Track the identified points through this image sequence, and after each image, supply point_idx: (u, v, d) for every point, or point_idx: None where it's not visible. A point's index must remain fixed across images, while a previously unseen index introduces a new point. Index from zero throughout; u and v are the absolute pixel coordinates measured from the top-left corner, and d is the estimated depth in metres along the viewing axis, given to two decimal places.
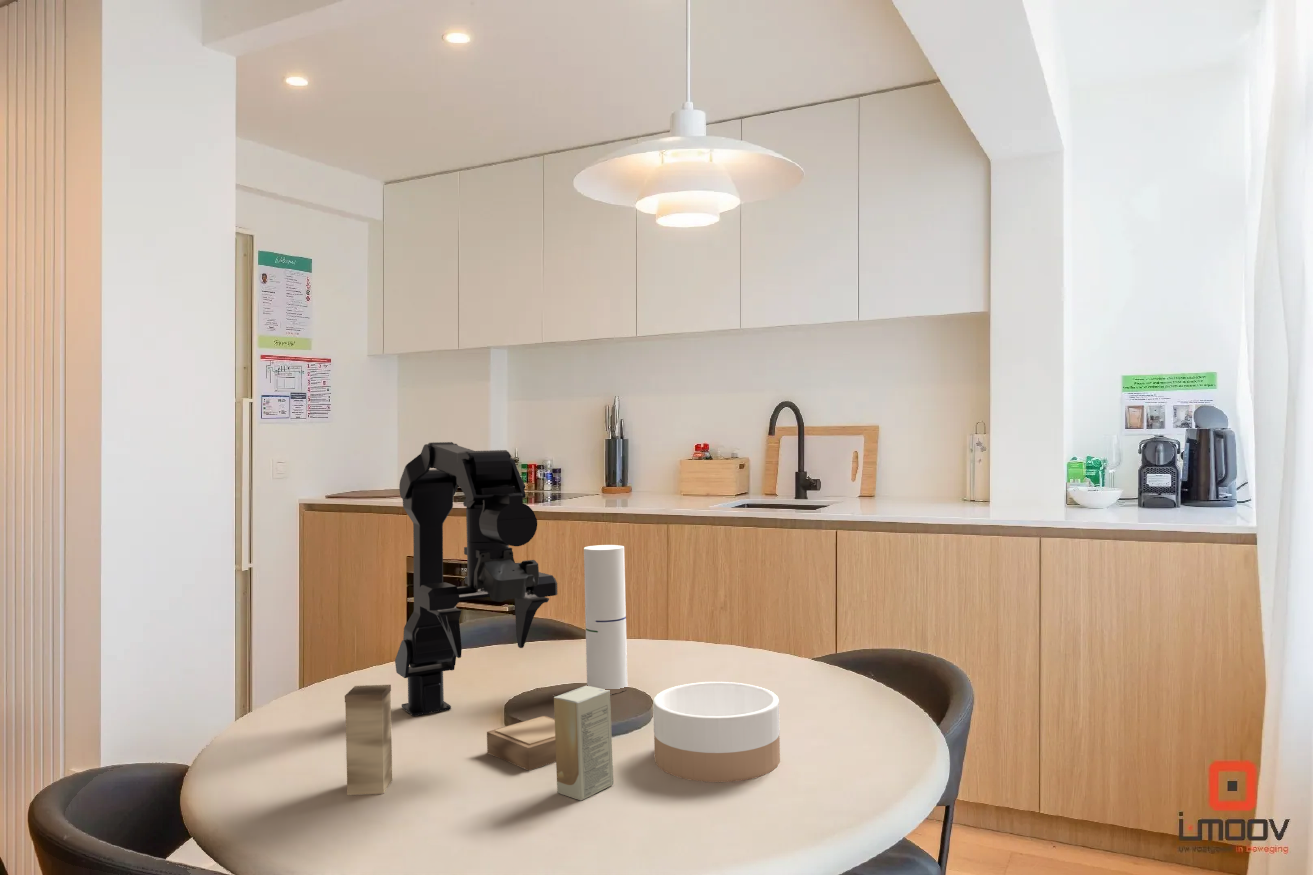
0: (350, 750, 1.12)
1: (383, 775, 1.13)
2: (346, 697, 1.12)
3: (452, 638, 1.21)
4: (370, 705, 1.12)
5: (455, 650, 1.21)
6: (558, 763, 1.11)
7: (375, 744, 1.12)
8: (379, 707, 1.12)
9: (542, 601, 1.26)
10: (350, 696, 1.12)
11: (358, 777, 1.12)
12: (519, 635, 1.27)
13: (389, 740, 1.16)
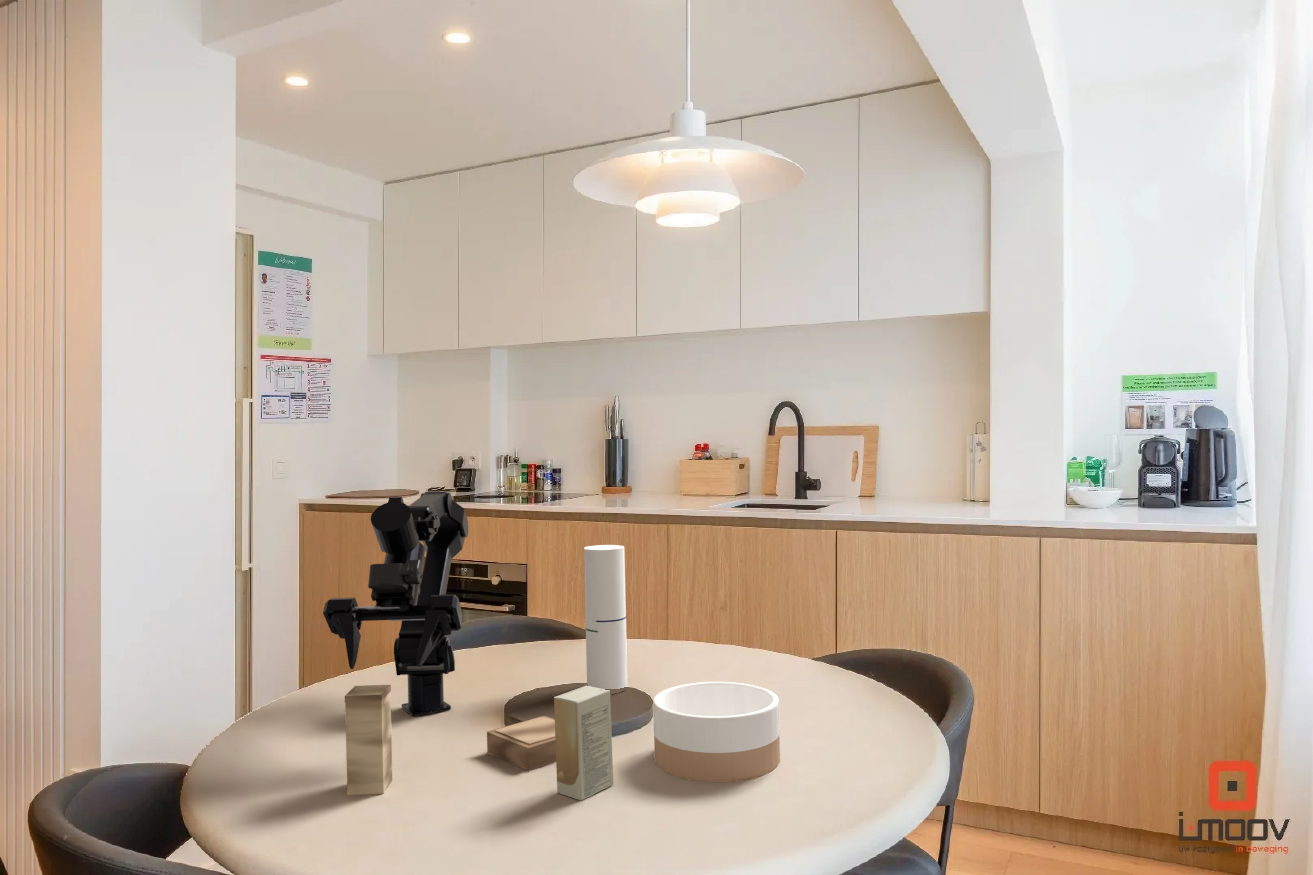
0: (350, 750, 1.12)
1: (383, 775, 1.13)
2: (346, 697, 1.12)
3: None
4: (370, 705, 1.12)
5: None
6: (558, 763, 1.11)
7: (375, 744, 1.12)
8: (379, 707, 1.12)
9: (437, 611, 1.26)
10: (350, 696, 1.12)
11: (358, 777, 1.12)
12: None
13: (389, 740, 1.16)
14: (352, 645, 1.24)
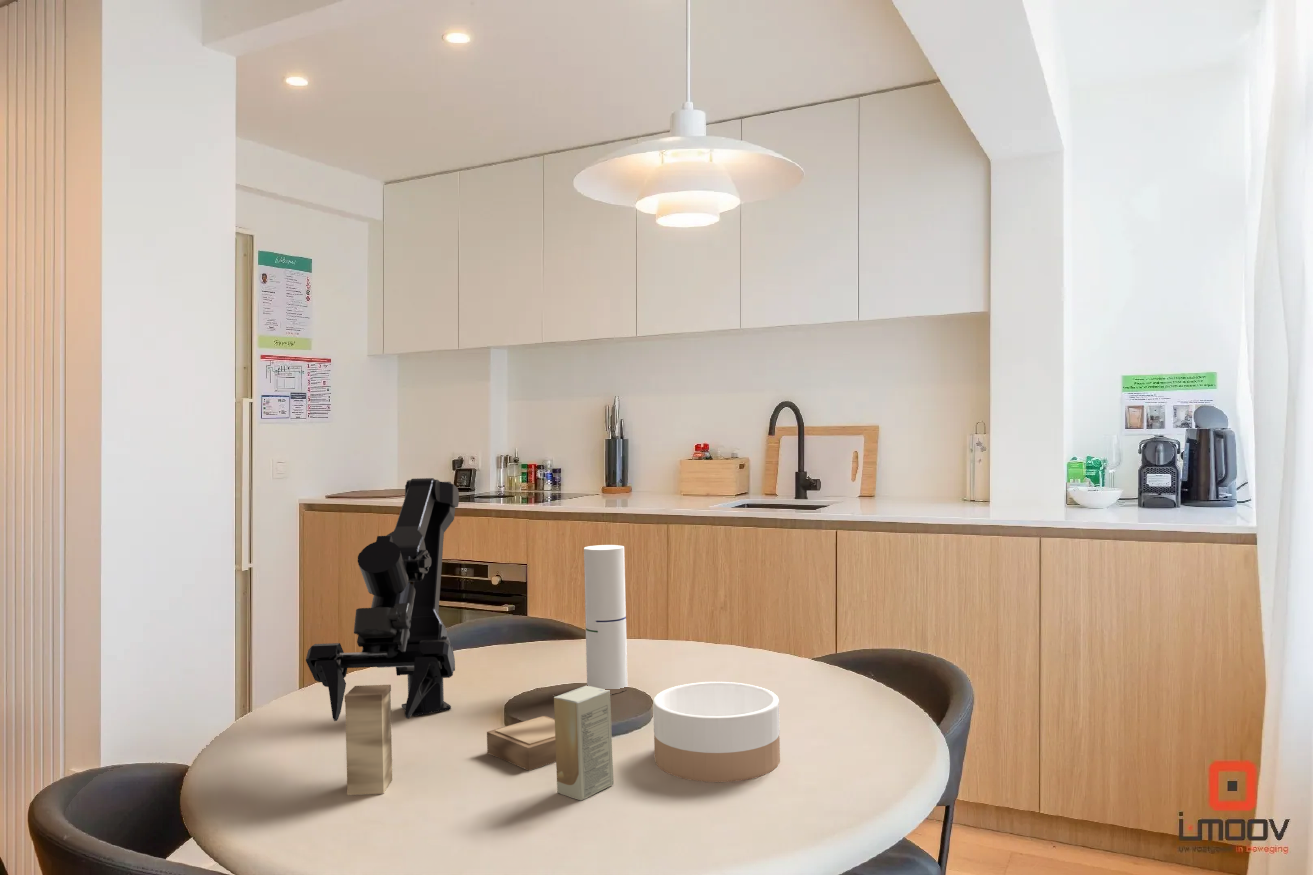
0: (350, 750, 1.12)
1: (383, 775, 1.13)
2: (346, 697, 1.12)
3: (330, 697, 1.17)
4: (370, 705, 1.12)
5: None
6: (558, 763, 1.11)
7: (375, 744, 1.12)
8: (379, 707, 1.12)
9: (427, 659, 1.19)
10: (350, 696, 1.12)
11: (358, 777, 1.12)
12: None
13: (389, 740, 1.16)
14: (336, 695, 1.17)
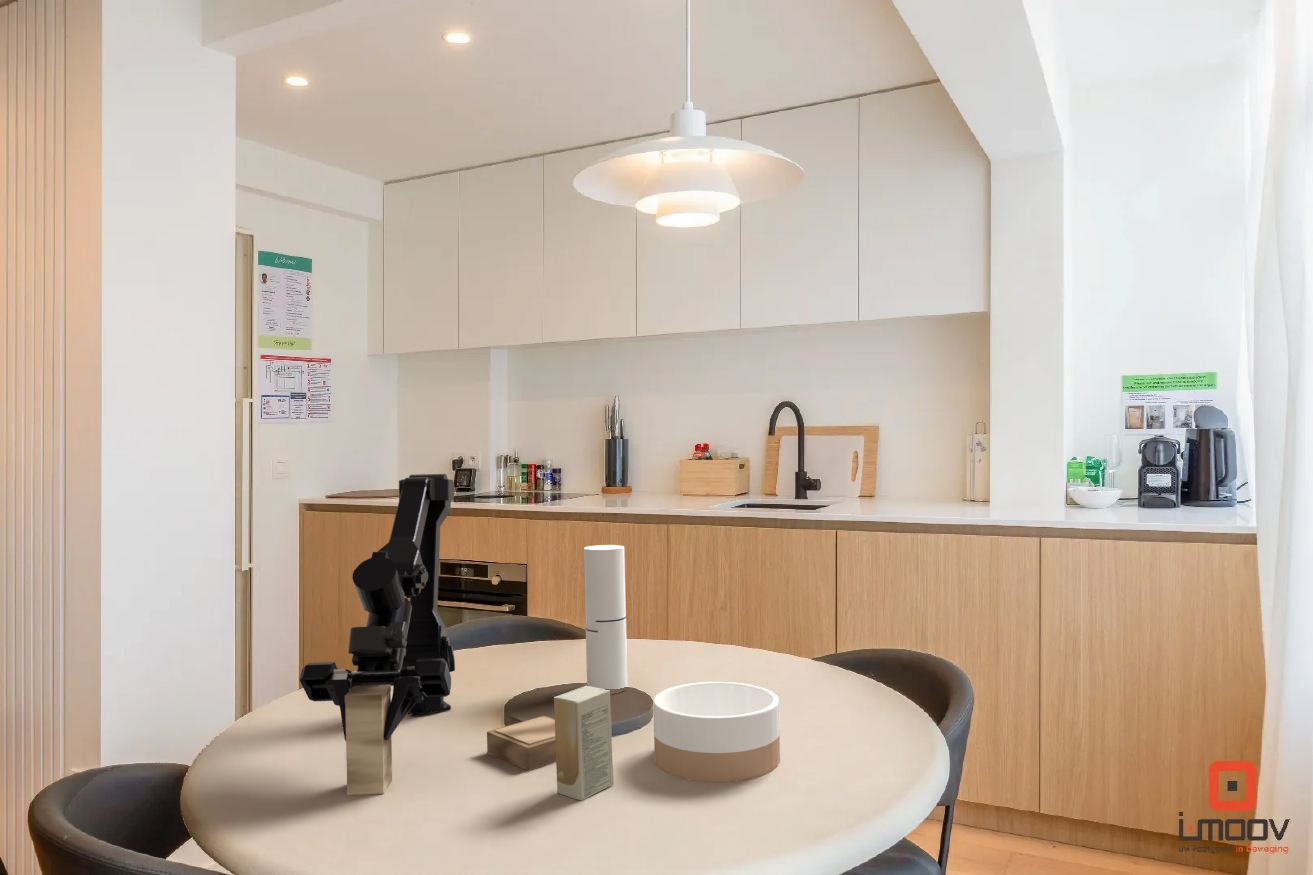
0: (350, 750, 1.12)
1: (383, 775, 1.13)
2: (346, 697, 1.12)
3: (341, 717, 1.14)
4: (370, 705, 1.12)
5: (344, 732, 1.14)
6: (558, 763, 1.11)
7: (375, 744, 1.12)
8: (379, 707, 1.12)
9: (406, 679, 1.16)
10: (350, 696, 1.12)
11: (358, 777, 1.12)
12: None
13: (389, 740, 1.16)
14: None
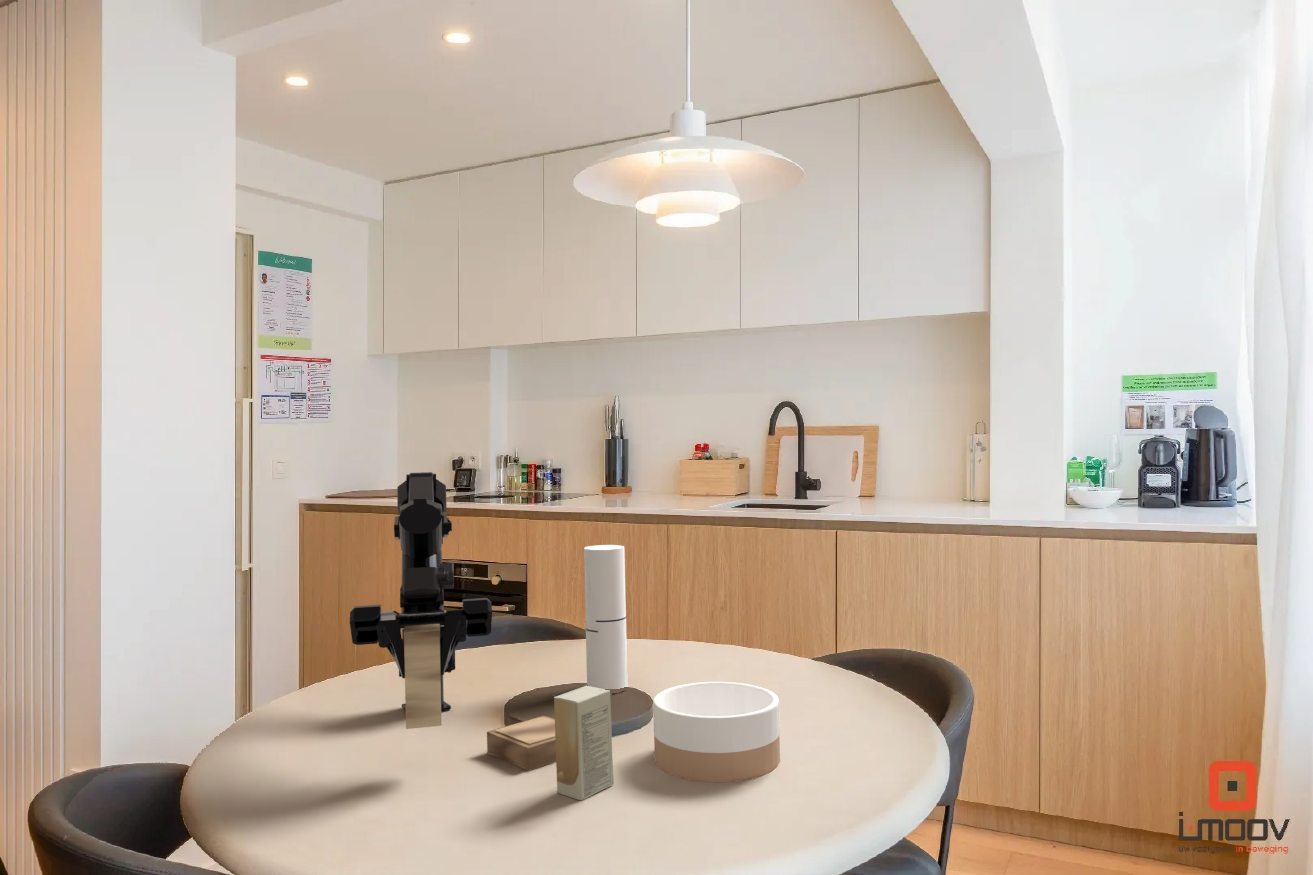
0: (409, 686, 1.16)
1: (440, 708, 1.17)
2: (405, 634, 1.16)
3: (396, 656, 1.18)
4: (428, 641, 1.17)
5: (400, 669, 1.18)
6: (558, 763, 1.11)
7: (433, 678, 1.17)
8: (437, 642, 1.17)
9: (457, 617, 1.21)
10: (409, 633, 1.16)
11: (416, 711, 1.16)
12: None
13: None
14: (402, 653, 1.18)
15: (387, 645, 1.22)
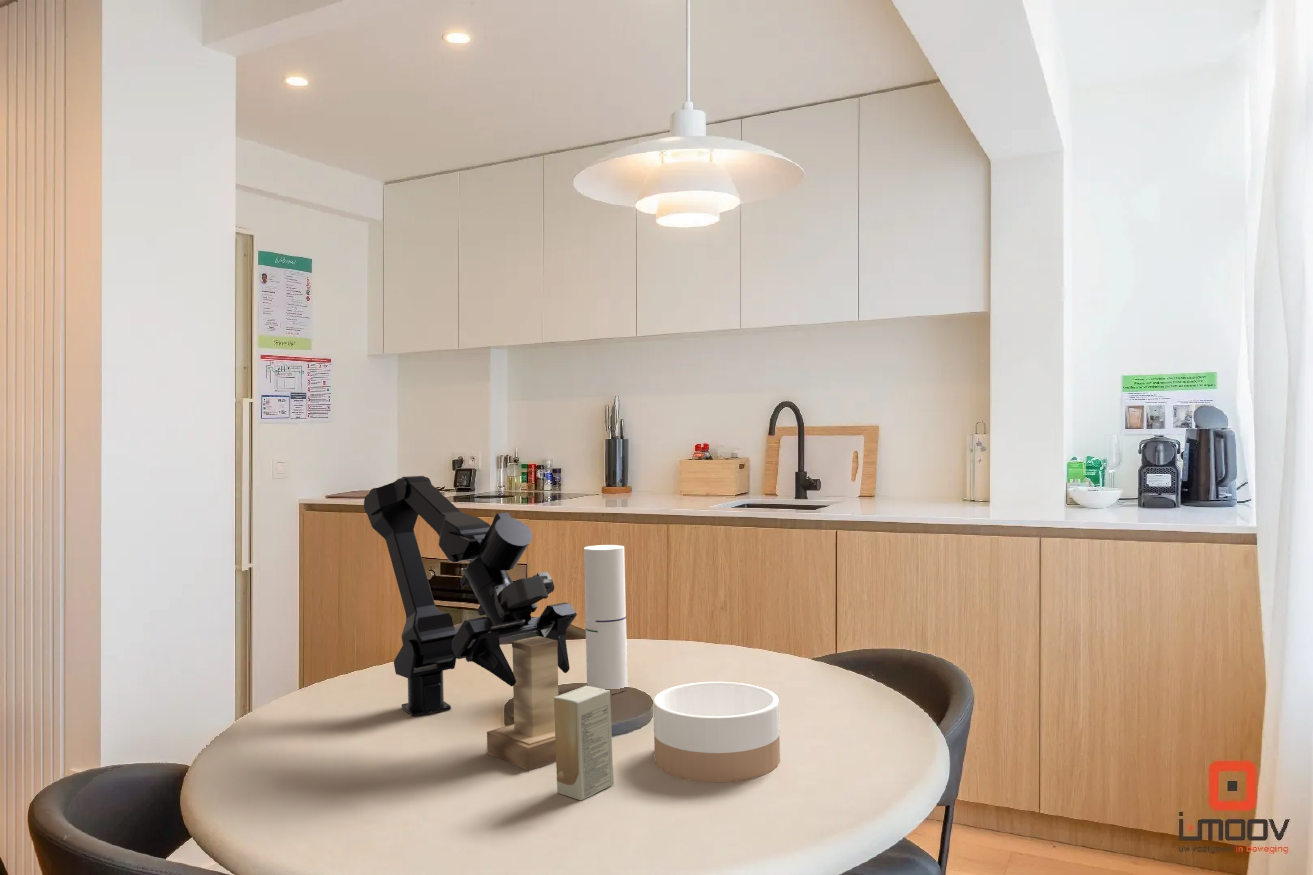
0: (535, 695, 1.23)
1: None
2: (532, 647, 1.23)
3: (500, 666, 1.22)
4: (549, 651, 1.25)
5: (508, 678, 1.22)
6: (558, 763, 1.11)
7: (553, 686, 1.25)
8: (555, 652, 1.26)
9: (566, 619, 1.32)
10: (535, 646, 1.23)
11: (540, 719, 1.24)
12: (561, 660, 1.29)
13: None
14: (507, 662, 1.23)
15: (474, 658, 1.25)
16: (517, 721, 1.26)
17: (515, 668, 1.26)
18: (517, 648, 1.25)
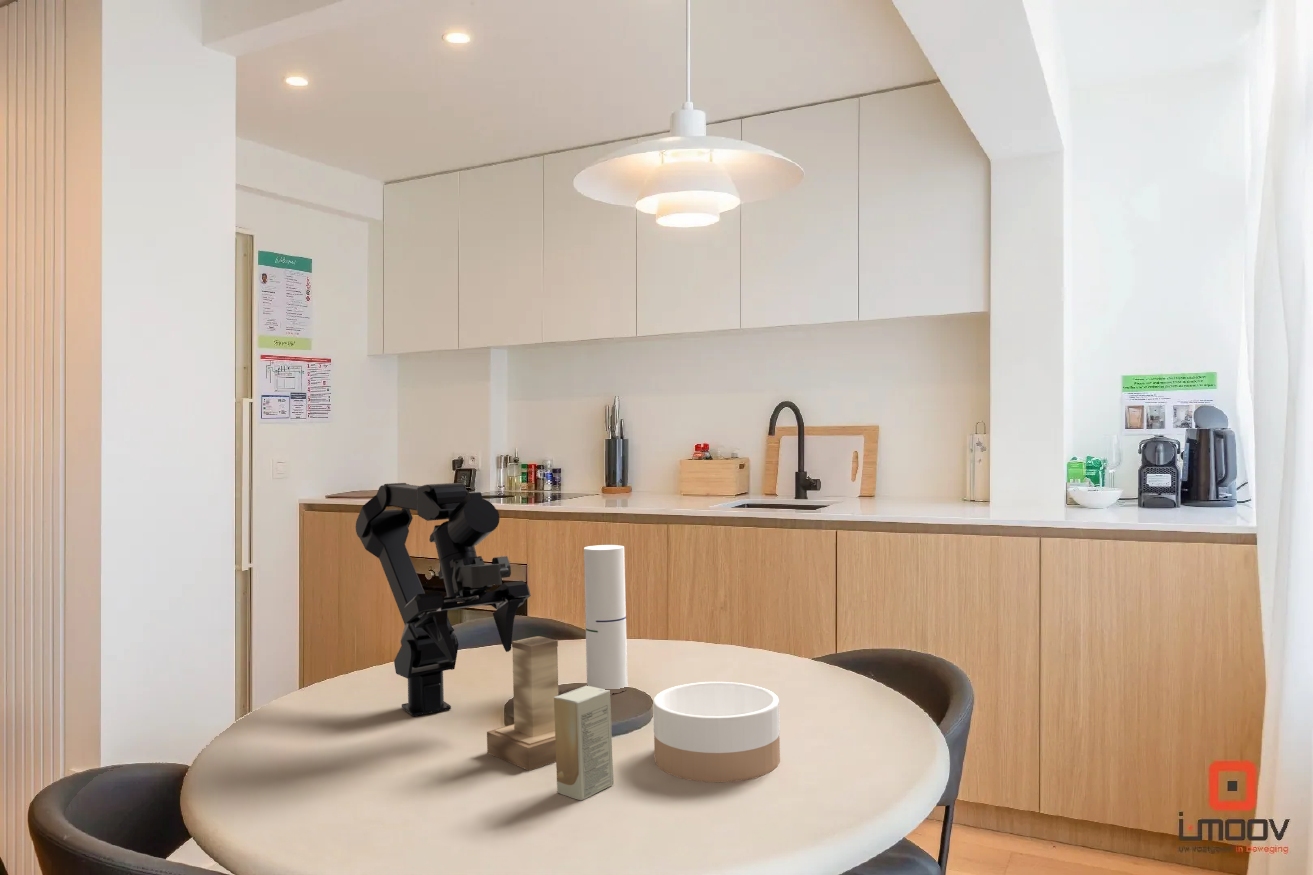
0: (535, 695, 1.23)
1: None
2: (532, 647, 1.23)
3: (444, 642, 1.30)
4: (549, 651, 1.25)
5: (448, 654, 1.30)
6: (558, 763, 1.11)
7: (553, 686, 1.25)
8: (555, 652, 1.26)
9: (518, 601, 1.38)
10: (535, 646, 1.23)
11: (540, 719, 1.24)
12: (505, 639, 1.36)
13: None
14: (451, 640, 1.30)
15: (423, 626, 1.33)
16: (517, 721, 1.26)
17: (515, 668, 1.26)
18: (517, 648, 1.25)
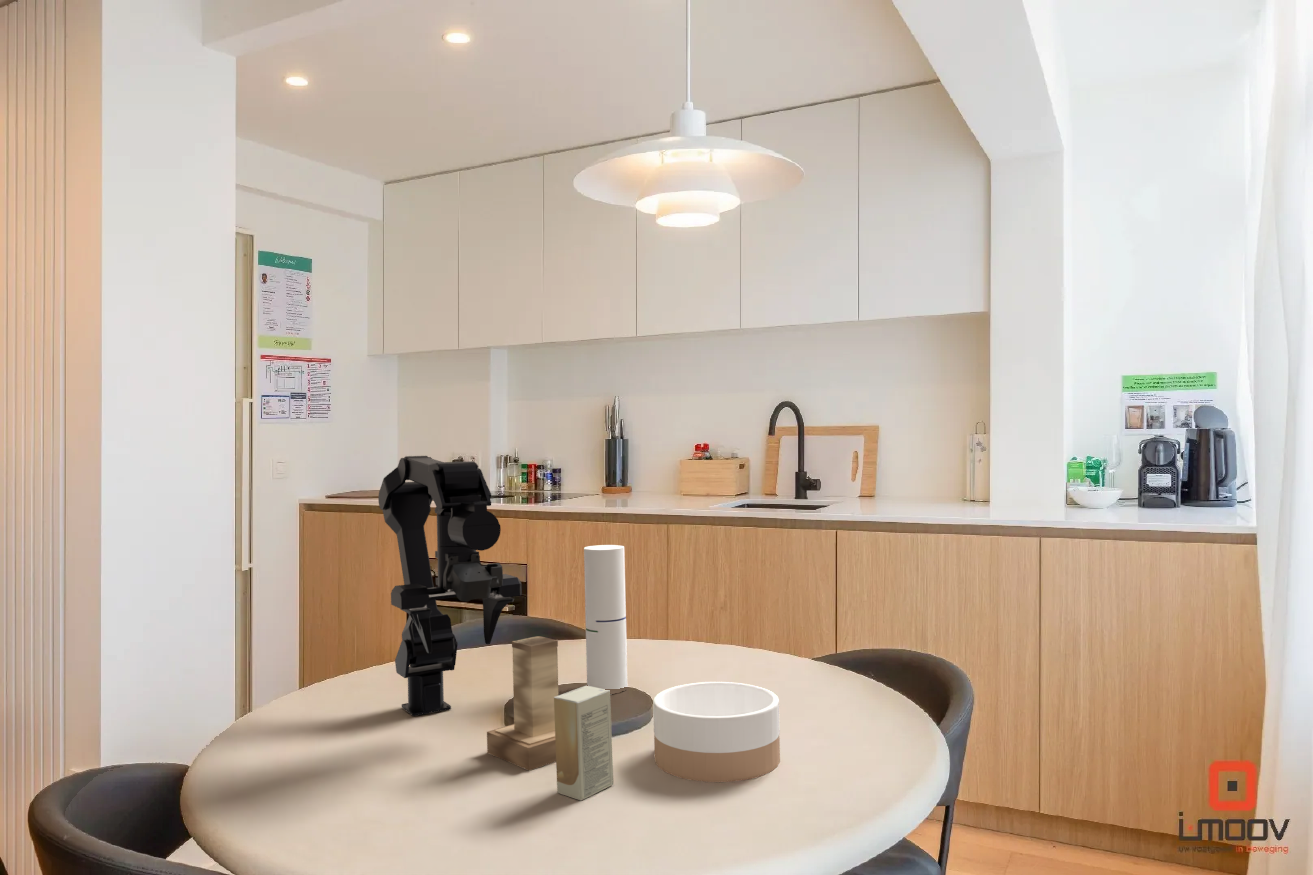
0: (535, 695, 1.23)
1: None
2: (532, 647, 1.23)
3: (423, 635, 1.31)
4: (549, 651, 1.25)
5: (425, 645, 1.32)
6: (558, 763, 1.11)
7: (553, 686, 1.25)
8: (555, 652, 1.26)
9: (507, 601, 1.36)
10: (535, 646, 1.23)
11: (540, 719, 1.24)
12: (486, 633, 1.37)
13: None
14: (430, 634, 1.31)
15: None
16: (517, 721, 1.26)
17: (515, 668, 1.26)
18: (517, 648, 1.25)
